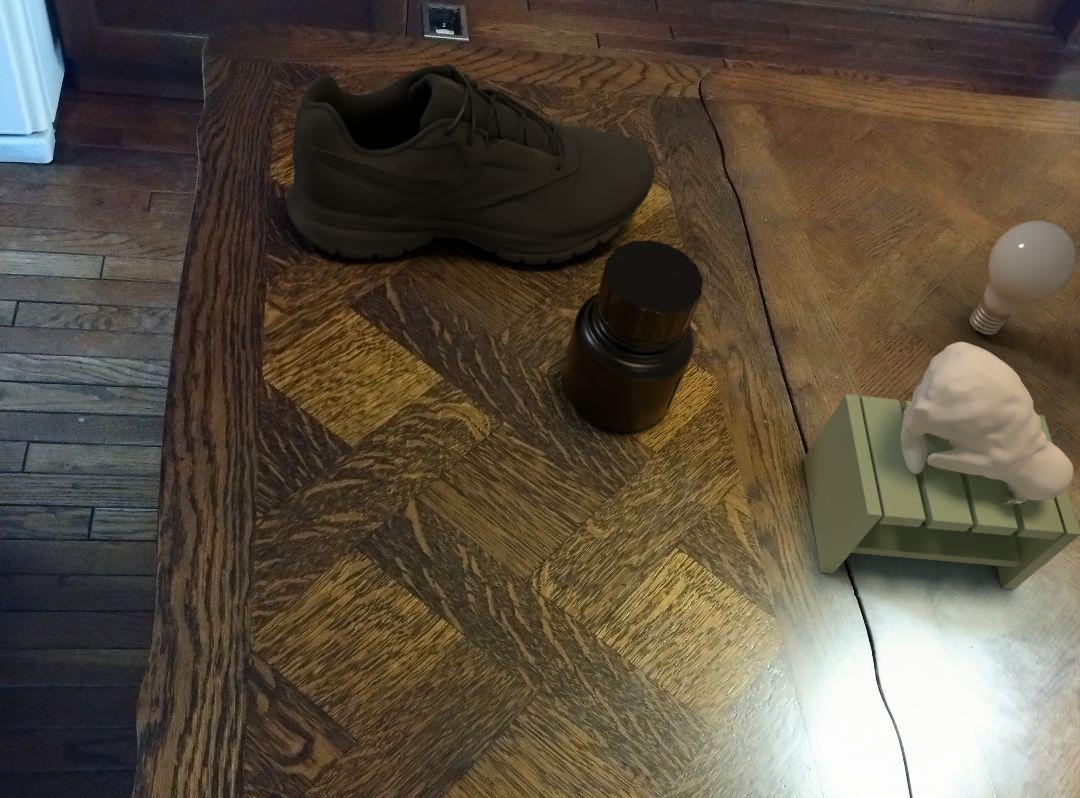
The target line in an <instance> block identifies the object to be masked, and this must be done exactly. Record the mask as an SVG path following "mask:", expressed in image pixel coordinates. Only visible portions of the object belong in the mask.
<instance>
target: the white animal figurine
mask: <svg viewBox="0 0 1080 798" xmlns="http://www.w3.org/2000/svg"><path fill="white" fill-rule="evenodd" d="M911 397H912V399H911V401H912V403H910V404H909V405H908V406H907V408H906V409H905V410H904V418H903V425H902V431H901V444H902V453H903V456H904V459H905V463H906V466H907V467H908V470H909V471H910V472H911V473H913V474H919V473H920V472H921V471H922V470H923V468H924V466H925V463H926V460H927V463H928V464H929V465H930V466H933V467H936V468H940V469H945V470H950V471H955V472H960V473H966V474H972V475H982V476H984V477H987V478H990V479H996V480H1002V481H1004V482H1006V483H1008V485H1007V487H1008V489H1009V490H1010V491H1011V492H1013V494H1014V496H1015V498H1016V499H1015V500H1011V501H1008V502H1007V503H1005V504H1010V503H1013V504H1015V503H1022V502H1025V501H1026V500H1042V501H1043V500H1049V499H1053V498H1055V497H1056V496H1058V495H1059V494H1061V493H1062V492H1063V491H1064V490H1065V489H1066V488H1067V489H1068V488H1069V486H1070V484H1071V482H1072V480H1073V476H1074V465H1073V463H1072V461H1071V460H1070V458H1069V457H1068V456H1067V455H1066V454H1065V453H1064V452H1063V451H1062V449H1060V448H1059V447H1058V446H1056V444H1054V443H1053V442H1052V443H1053V444H1052V443H1051V442H1049V441H1047V437H1046V435H1045V433H1044V432H1043V431H1042V430H1041V420H1040V417H1039V415H1040V414H1038V413H1037V412H1036V411H1035V407H1034V400H1033V398H1032V396H1031V394H1030V391H1028V389H1027V388H1026V386H1025V385H1024V383H1023V382H1022V379H1021V377H1020V376H1019V374H1018V373H1017V371H1015V370H1014V369H1013V368H1012V367H1011V366H1010V365H1008V364H1007V363H1006V362H1005V361H1003V360H1002V359H1000V358H999V357H997V356H996V355H994V354H993V353H991V352H990V351H989V350H986V349H984V348H982V347H980V346H977V345H974V344H972V343H969V342H965V341H958V342H954V343H951V344H949V345H946V347H944V349H943V350H942V351H941V352H939V353H937V354H936V355H935V356H933V357H932V358H931V359H930V361H929V364H928V367H927V369H926V370H925V371H924V374H923V377H922V379H921V382H920V384H918V385H917V386H916V387H915V388H914V390H913V393H912V396H911ZM925 433H929V434H932V435H936V436H939V437H941V438H943V439H947V440H949V443H950V445H951V446H953V448H954V449H953V450H949V451H944V452H939V453H932V454H931V455H929V456H928V449H927V446H926V444H925V442H924V439H923V436H922V435H924V434H925ZM927 456H928V458H927ZM1003 499H1006V498H1003ZM1008 499H1011V497H1010V498H1008ZM1016 501H1017V502H1016ZM1014 502H1015V503H1014ZM1005 504H1003V505H1005ZM1008 506H1009V505H1008Z"/></svg>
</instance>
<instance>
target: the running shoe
mask: <svg viewBox="0 0 1080 798" xmlns="http://www.w3.org/2000/svg"><path fill="white" fill-rule="evenodd" d="M478 84H479V83H478V82H477V80H471V75H470V74H468V73H464V74H462V72H461V71H460V70H459V69H458V68H457V67H456V66H454V65H453V64H452V63H447V62H446V63H442V64H441V65H440V64H438V65H429V66H425V67H422V68H418V69H416V70H413V71H411V72H410V73H407V74H406V75H403V76H402V77H400V78H399V79H397V81H395V82H393V83H391V84H390V85H389V86H386V87H384V88H382V89H379V90H376V91H373V92H369V93H364V94H355V93H350V92H346V91H344V90H343V89H342V87H340V85H339V83H338V82H337V80H336V79H335V78H334V77H333V76H331V75H329V74H323V75H322V76H319V77H318V78H316V79H315V80H314V81H312V83H311V84H310V85H309V86H308V87H307V89H306V90H305V92H304V94H303V95H302V97H301V101H300V102H299V105H298V108H297V110H296V115H295V120H294V131H293V138H292V139H293V140H292V164H293V170H294V174H293V183H291V185H290V186H289V187H288V189H287V192H286V197H285V206H286V211H287V214H288V216H289V219H290V221H291V222H292V224H293V225H294V227H295V228H296V230H297V231H298V232H299V234H301V236H302V237H304V238H305V239H306V240H307V241H308V243H310V244H311V245H313V246H314V247H318V249H319V250H320V251H323V252H325V253H328V254H329V255H335V254H336V253H338V255H339V256H340V257H341V258H349V259H356V258H357V259H358V260H361V259H362V260H364V259H366V260H369V259H370V260H371V259H373V257H374V256H376V258H377V259H389V258H396V257H398V256H402V255H403V254H404V252H406V251H407V252H409V253H411V252H412V251H414V250H417V249H420V247H424V246H426V245H427V244H431V243H432V242H433V241H434V238H436V239H440V240H441V239H458V240H461V241H465V242H468V243H469V244H471V245H473V246H476V247H477V248H479V249H481V250H483V251H485V252H488V253H495V255H496V257H497V258H500V259H502V260H506V261H509V262H513V263H520V262H521V261H523V263H524V264H525V265H533V266H534V265H535V266H540V265H541V266H542V265H546V264H547V263H548V262H549V263H550V264H559V263H562V262H566V261H569V260H570V259H571V258H572V257H573V255H574V256H576V257H578V256H581V255H583V254H586V253H588V252H589V251H592V250H593V249H595V248H596V247H597V245H598V244H604V243H606V242H607V241H609V240H610V239H611V238H613V237H614V236H615V235H616V234H617V233H618V231H619V229H620V228H624V226H625V225H627V224H628V223H629V221H630V220H631V219H632V218H633V217H634V215H635V213H636V211H637V210H638V209H639V207H640V206H641V205H642V204H643V203H644V202H645V200H646V198H647V197H648V195H649V192H650V190H651V188H652V186H653V182H654V178H655V174H656V167H655V162H654V160H653V158H652V155H651V154H650V153H649V150H648V149H647V147H645V145H644V144H643V143H642V142H641V141H638V140H636V139H634V138H633V137H632V138H631V137H629V136H625V135H620V134H617V133H610V132H606V131H602V130H596V129H592V128H589V127H588V128H587V127H579V126H571V125H564V124H562V123H559V122H557V121H554V120H551V119H548V118H545V117H542V116H541V115H540V114H538V113H537V112H536V111H534V110H532V109H531V108H529V107H527V106H525V105H524V104H522V103H520V102H519V101H516V100H515V99H514V98H513V97H511V96H509V95H508V94H506V93H504V92H502V91H500V90H497V89H495V88H492V87H487V88H479V85H478Z"/></svg>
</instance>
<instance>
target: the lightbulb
mask: <svg viewBox="0 0 1080 798" xmlns="http://www.w3.org/2000/svg"><path fill="white" fill-rule="evenodd" d="M1076 262H1077V251H1076V246H1075V242H1074V241H1073V239H1072V237H1071V236H1070V235H1069V233H1068V232H1067V231H1066V230H1065V229H1064V228H1062V226H1059V225H1058V224H1056V223H1054V222H1050V221H1047V220H1029V221H1024V222H1021V223H1018V224H1016V225H1014V226H1012V227H1011V228H1010V229H1008V230H1006V231H1005V232H1004V233H1002V234H1001V236H999V238H998V239H997V241H996V242H995V243H994V245H993V247H992V248H991V250H990V253H989V257H988V262H987V264H988V265H987V275H988V283H987V285H986V287H985V290H984V293H983V298H982V299H981V301H980V302H979V304H977V306H976V308H974V311H972V313H971V314H970V316H969V322H970V325H971V326H972V328H973V329H974V330H976V332H979V333H980V334H981V335H988V336H992V335H996V334H997V333H999V331H1000V329H1002V327H1003V326H1004V324H1005V323H1006V322H1007V321H1008V320H1009V318H1010V317H1011V316H1012V315H1014V314H1016V313H1018V312H1019V311H1020V310H1022V309H1023V308H1024V307H1025V306H1027V305H1029V304H1033V303H1037V302H1040V301H1043V300H1045V299H1048V298H1051V297H1052V296H1054V295H1055V294H1057V293H1058V292H1059V291H1060V290H1061V289H1063V287H1064V286H1065V285H1066V284H1067V283H1068V282H1069V280H1070V278H1071V277H1072V275H1073V273H1074V270H1075V267H1076V264H1077V263H1076Z"/></svg>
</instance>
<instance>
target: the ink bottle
mask: <svg viewBox="0 0 1080 798" xmlns="http://www.w3.org/2000/svg"><path fill="white" fill-rule="evenodd" d="M600 280H601V281H600V282H599V287H598V292H597V293H596V294H594V295H592V296H591V297H590V298H588V299H587V300H586V301H585V302H584V303H583V304H582V305H581V307H580V308H579V310H578V312H577V314H576V315H575V319H574V322H573V326H572V330H571V333H570V338H569V342H568V345H567V349H566V353H565V357H564V360H563V365H562V368H561V369H562V370H561V385H562V389H563V392H564V395H565V397H566V398H567V400H568V402H569V403H570V405H571V406H572V408H573V409H575V411H576V412H577V413H578V414H579V415H580V416H582V417H583V418H584V419H585V420H587V421H588V422H589V423H592V424H594V425H595V426H598V427H600V428H602V429H606V430H609V431H614V432H615V431H616V432H633V431H639V430H642V429H645V428H648V427H651V426H653V425H655V424H656V423H658V422H659V421H660V420H661V419H663V418H664V417H665V416H666V415H667V414H668V413H669V410H670V409H671V407H672V406H673V403H674V401H675V399H676V397H677V395H678V392H679V390H680V388H681V385H682V383H683V380H684V378H685V376H686V373H687V371H688V368H689V365H690V363H691V361H692V358H693V355H694V350H695V336H694V332H693V329H692V326H691V322H692V320H693V317H694V315H695V312H696V310H697V306H698V305H699V302H700V300H701V297H702V294H703V283H704V277H702V274H701V272H700V270H699V266H698V265H697V264H696V263H695V262H694V261H693V260H692V259H691V258H690V257H689V256H688V255H687V254H686V253H685V252H683V251H681V250H679V249H677V248H676V247H673V246H672V245H671V244H669V243H663V242H659V241H654V240H652V239H646V240H632V241H631V240H630V241H629V242H627V243H625V244H622V245H620V246H616V248H615V249H614V251H612V252H611V254H610V255H609V256H608V257H607V259H606V262H605V265H604V269H603V272H602V276H601V279H600Z"/></svg>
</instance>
